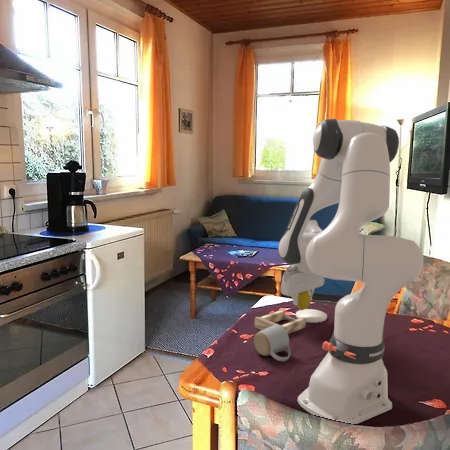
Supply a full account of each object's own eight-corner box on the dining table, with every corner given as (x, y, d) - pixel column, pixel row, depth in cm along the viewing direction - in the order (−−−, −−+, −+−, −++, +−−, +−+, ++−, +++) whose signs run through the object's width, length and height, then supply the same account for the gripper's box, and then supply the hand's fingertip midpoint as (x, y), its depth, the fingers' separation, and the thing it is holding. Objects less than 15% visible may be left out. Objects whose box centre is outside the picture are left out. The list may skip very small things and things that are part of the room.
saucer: (314, 325, 145) (314, 322, 145) (289, 316, 153) (289, 313, 153) (333, 317, 152) (333, 315, 152) (308, 309, 160) (308, 307, 160)
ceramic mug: (251, 351, 125) (252, 327, 123) (271, 344, 130) (272, 320, 128) (277, 366, 116) (278, 339, 115) (297, 357, 121) (298, 332, 120)
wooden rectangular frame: (279, 337, 135) (279, 327, 134) (254, 327, 143) (254, 317, 142) (307, 326, 144) (307, 316, 144) (282, 317, 152) (282, 308, 152)
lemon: (311, 313, 148) (312, 291, 146) (295, 313, 148) (296, 290, 146) (308, 307, 153) (309, 286, 152) (293, 307, 153) (293, 286, 152)
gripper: (291, 271, 139) (290, 311, 141) (328, 261, 152) (326, 298, 154) (277, 267, 143) (276, 306, 145) (314, 258, 157) (312, 294, 159)
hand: (302, 302), depth 150 cm, fingers closed on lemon, 5 cm apart
